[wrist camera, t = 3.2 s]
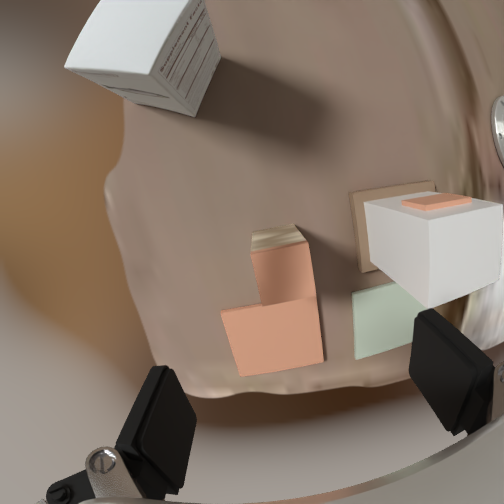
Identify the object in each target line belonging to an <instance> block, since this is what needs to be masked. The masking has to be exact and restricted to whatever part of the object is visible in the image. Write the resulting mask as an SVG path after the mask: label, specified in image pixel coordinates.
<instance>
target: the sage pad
mask: <svg viewBox="0 0 504 504" xmlns="http://www.w3.org/2000/svg"><path fill="white" fill-rule="evenodd" d="M351 294H352V308H353V325H354V356H355V359H356V360H357V359H361V358H364V357H368V356H371V355H374V354H378V353H381V352H384V351H387V350H390V349H393V348H396V347H399V346H402V345H405V344H408V343H411V342H412V340H413V329H414V319H415V317H417V315H418V313H419V312H421V311H424V310H426V309H427V308H426V307H424V306H423V305H422V304H421V303H420V302H419V301H417V300H416V299H415V298H414V297H413V296H412V295H411V294H409V293H408V292H407V291H406V290H405V289H403V288H402V287H401V286H400V285H399V284H397V283H396V282H395V281H394V282H390V283H387V284H383V285H379V286H375V287H372V288H368V289H364V290H360V291H356V292H352V293H351Z"/></svg>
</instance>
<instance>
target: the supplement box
mask: <svg viewBox="0 0 504 504" xmlns="http://www.w3.org/2000/svg"><path fill="white" fill-rule="evenodd" d="M220 59H221V55H220V52H219V48H218V44H217V41H216V37H215V34H214V31H213V27H212V24H211V21H210V18H209V14H208V11H207V8H206V4H205V1H204V0H101V1H100V2H99V3H98V5H97V7H96V8H95V10H94V11H93V13H92V15H91V16H90V18H89V19H88V21H87V23H86V25H85V26H84V28H83V30H82V31H81V33H80V35H79V37H78V39H77V41H76V43H75V44H74V47H73V48H72V50H71V52H70V54H69V57H68V59H67V61H66V64H65V66H64V67H65V68H66V69H68V70H71V71H73V72H75V73H77V74H79V75H81V76H83V77H85V78H87V79H89V80H91V81H93V82H95V83H97V84H99V85H101V86H103V87H105V88H107V89H109V90H110V91H112V92H114V93H116V94H118V95H120V96H121V97H123V98H125V99H127V100H129V101H131V102H132V103H135V104H142V105H148V106H154V107H158V108H163V109H167V110H171V111H175V112H179V113H182V114H186V115H189V116H192V117H195V116H196V114H197V111H198V109H199V106H200V104H201V101H202V99H203V97H204V94H205V92H206V90H207V87H208V85H209V83H210V81H211V78H212V76H213V74H214V72H215V70H216V67H217V65H218V63H219V61H220Z"/></svg>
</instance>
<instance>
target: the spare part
mask: <svg viewBox="0 0 504 504" xmlns="http://www.w3.org/2000/svg"><path fill="white" fill-rule="evenodd" d="M251 259H252V263H253V267H254V272H255V276H256V281H257V285H258V290H259V294H260V298H261V303H262V307H263V306H269V305H274V304H279V303H284V302H289V301H294V300H298V299H303V298H308V297H312V296H316V290H315V283H314V276H313V269H312V263H311V256H310V250H309V244H308V242H307V241H306V239H305V238H304V237H303V235H302V234H301V233H300V232H299V230H298V229H297V228H296V227H295V225H294V224H290V225H285V226H280V227H275V228H270V229H265V230H260V231H255V232H252V244H251Z"/></svg>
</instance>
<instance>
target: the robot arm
mask: <svg viewBox="0 0 504 504" xmlns="http://www.w3.org/2000/svg"><path fill="white" fill-rule="evenodd" d="M491 123H492V132H493V138H494V142H495V146H496V149H497V152H498V155H499V158H500V160H501V162H502V164H503V166H504V96H499V97H498V98H497V99H496V100H495V101H494V104H493V107H492V114H491ZM409 374H410V377H411V378H412V380H413V381H414V383H415V384H416V386H417V387H418V388H419V390H420V391H421V393H422V394H423V396H424V397H425V399H426V400H427V402H428V403H429V405H430V406H431V408H432V409H433V411H434V412H435V414H436V415H437V417H438V418H439V420H440V422H441V423H442V425H443V426H444V428H445V429H446V430H447V431H451V433H452V434H453V436H455V435H457V434H458V433H460V432H462V431H463V430H466V432H467V437H465V438H464V439H462V440H460V441H458V442H457V443H455V444H453V445H451V446H449V447H448V448H446V449H444V450H442V451H440V452H438V453H436V454H434V455H432V456H430V457H428V458H426V459H424V460H422V461H419V462H417V463H415V464H413V465H410V466H408V467H406V468H403V469H401V470H398V471H396V472H393V473H391V474H388V475H385V476H382V477H379V478H377V479H374V480H371V481H368V482H365V483H361V484H358V485H355V486H351V487H347V488H343V489H340V490H336V491H332V492H327V493H322V494H317V495H313V496H307V497H301V498H296V499H289V500H280V501H272V502H261V503H245V504H504V362H501V363H500V364H498V365H497V366H496V368H495V367H494V366H493V361H492V360H491V359H490V358H489V357H487V356H486V355H485V354H484V353H483V352H482V351H481V350H480V349H479V348H478V347H477V346H476V345H474V344H473V343H472V342H471V341H470V340H469V339H468V338H467V337H466V336H464V335H463V334H462V333H461V332H460V331H459V330H458V329H456V328H455V327H454V326H453V325H452V324H451V323H449V322H448V321H447V320H446V319H445V318H444V317H442V316H441V315H440V314H439V313H438V312H436V311H435V310H434V309H432V308H429V309H426V310H424V311H421V312H419V313H418V315H417V317H415V319H414V329H413V340H412V349H411V357H410V364H409ZM196 422H197V419H196V414H195V412H194V410H193V408H192V406H191V405H190V403H189V401H188V399H187V397H186V395H185V393H184V391H183V389H182V387H181V385H180V383H179V380H178V378H177V376H176V374H175V372H174V370H173V369H169V367H168V366H166V365H164V366H153V367H152V368H151V370H150V372H149V374H148V376H147V378H146V380H145V382H144V384H143V386H142V388H141V390H140V392H139V394H138V396H137V398H136V401H135V402H134V405H133V407H132V409H131V411H130V413H129V415H128V417H127V419H126V422H125V424H124V426H123V428H122V430H121V432H120V435H119V437H118V439H117V441H116V445H115V448H111V447H100V448H97V449H95V450H94V451H92V452H91V453H90V454H89V455H88V457H87V458H86V462H85V467H86V469H85V470H83V471H81V472H79V473H77V474H74V475H72V476H70V477H67V478H65V479H63V480H60V481H58V482H55V483H54V484H52V485H51V486H50V487H49V489H48V490H47V494H46V499H47V500H46V501H45V500H44V499H41V500H40V501H39V502H37V503H36V504H199V503H182V502H170V501H165V495H166V494H175V495H178V492H179V488H182V487H183V485H184V481H185V476H186V470H187V466H188V460H189V456H190V451H191V446H192V441H193V437H194V432H195V427H196Z"/></svg>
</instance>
